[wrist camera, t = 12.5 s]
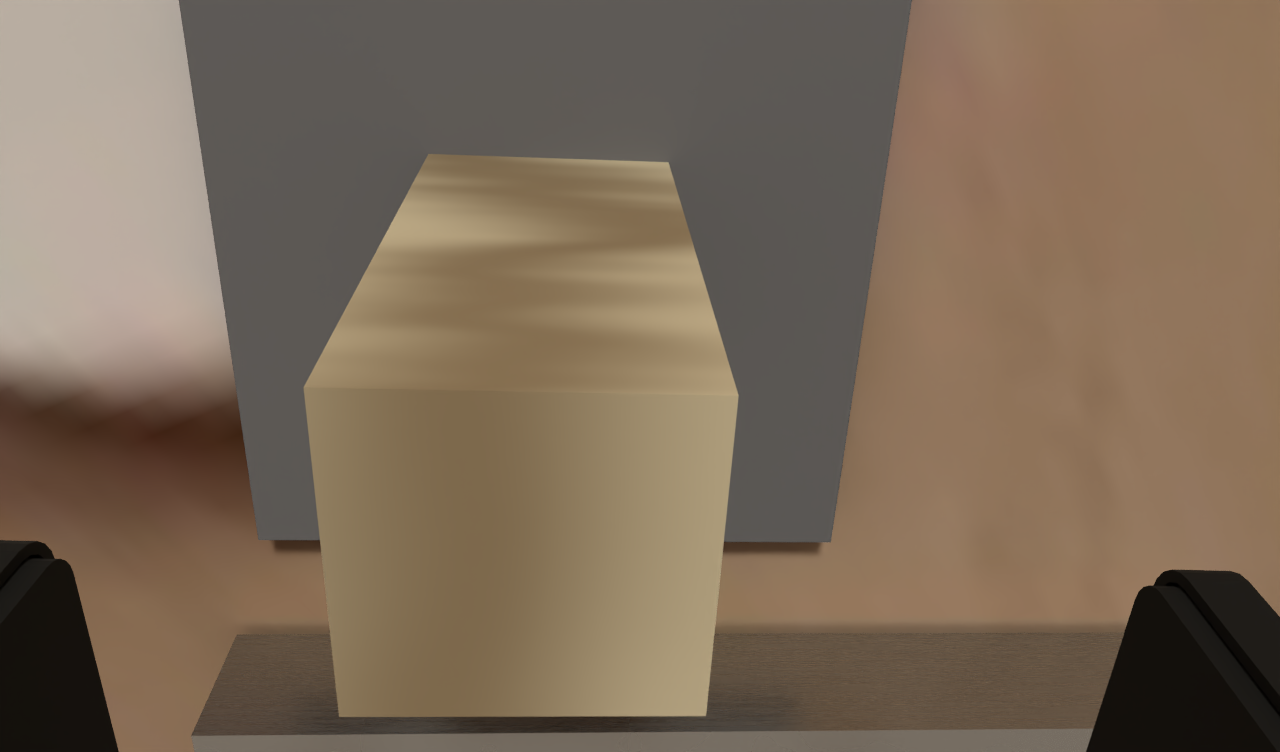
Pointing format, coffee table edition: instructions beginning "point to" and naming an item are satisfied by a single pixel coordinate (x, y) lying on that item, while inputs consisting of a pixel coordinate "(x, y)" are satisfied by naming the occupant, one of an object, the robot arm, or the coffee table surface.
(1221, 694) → the robot arm
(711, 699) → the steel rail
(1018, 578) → the coffee table surface
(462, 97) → the charcoal mat
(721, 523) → the birch peg
